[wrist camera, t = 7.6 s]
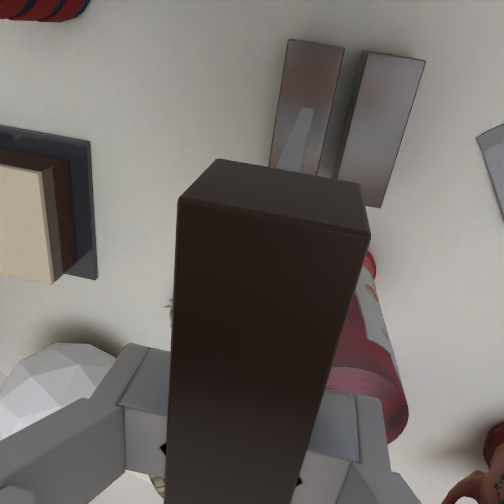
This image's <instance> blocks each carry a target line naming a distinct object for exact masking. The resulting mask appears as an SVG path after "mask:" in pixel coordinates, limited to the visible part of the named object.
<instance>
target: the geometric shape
mask: <svg viewBox="0 0 504 504" xmlns="http://www.w3.org/2000/svg"><path fill="white" fill-rule="evenodd" d="M115 360H116V358H115V357H114V356H112V355H110V354H108V353H106V352H104V351H102V350H100V349H98V348H96V347H94V346H92V345H90V344H74V343H54V344H52V345H50V346H48V347H46V348H44V349H42V350H40V351H38V352H37V353H35V354H33V355H31V356H29V357H27V358H25V359H23V360H21V361H19V362H18V364H17V365H16V366H15V368H14V369H13V371H12V372H11V373H10V375H9V376H8V377H7V379H6V380H5V381H4V383H3V384H2V386H1V387H0V441H1V440H3V439H5V438H6V437H8V436H10V435H12V434H14V433H16V432H18V431H20V430H22V429H23V428H25V427H27V426H29V425H31V424H33V423H35V422H37V421H39V420H40V419H42V418H44V417H46V416H48V415H50V414H52V413H54V412H56V411H57V410H59V409H61V408H63V407H65V406H67V405H69V404H71V403H73V402H74V401H76V400H78V399H80V398H82V397H83V398H87V399H89V398H90V397H91V395H92V394H93V392H94V391H95V389H96V388H97V387H98V385H99V384H100V382H101V381H102V379H103V378H104V376H105V375H106V373H107V372H108V370H109V369H110V367H111V366H112V364H113V363H114V362H115Z"/></svg>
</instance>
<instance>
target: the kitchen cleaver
mask: <svg viewBox="0 0 504 504" xmlns="http://www.w3.org/2000/svg"><path fill="white" fill-rule="evenodd" d="M476 139H477V141H478V144H479V146H480V148H481V150H482V153H483V156H484V159H485V162H486V165H487V169H488V172H489V175H490V178H491V181H492V184H493V188H494V191H495V194H496V197H497V200H498V203H499V206H500V210H501V213H502V216H503V219H504V124H503V125H501V126H499V127H497V128H494V129H492V130H490V131H487V132H486V133H484V134H482V135H481V136H479V137H478V138H476Z"/></svg>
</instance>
